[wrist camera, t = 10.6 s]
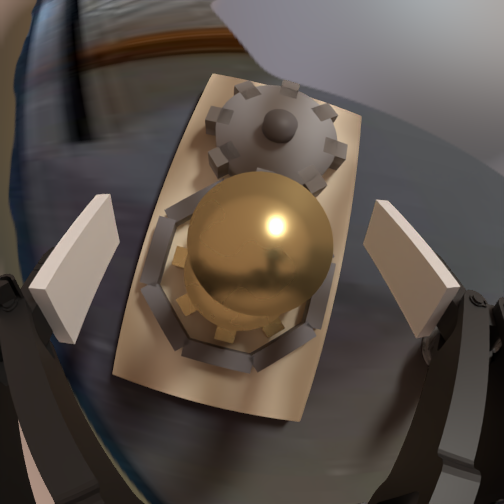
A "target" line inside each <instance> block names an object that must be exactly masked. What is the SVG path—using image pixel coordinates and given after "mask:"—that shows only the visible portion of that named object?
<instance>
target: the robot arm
mask: <svg viewBox="0 0 504 504" xmlns="http://www.w3.org/2000/svg"><path fill="white" fill-rule="evenodd" d="M119 242H120V241H119V237H118V232H117V227H116V223H115V218H114V212H113V207H112V201H111V196H110V194H102V195H96V196H95V197H94V199H93V200H92V201H91V202H90V203H89V204H88V206H87V207H86V208H85V209H84V211H83V212H82V213H81V214H80V215H79V217H78V218H77V219H76V220H75V222H74V223H73V224H72V226H71V227H70V228H69V229H68V231H67V232H66V233H65V235H64V236H63V237H62V239H61V240H60V242H59V243H58V244H57V246H56V247H52V248H51V249H50V250H48V251H47V252H46V253H45V254H44V255H43V256H42V258H41V259H40V260H39V262H38V264H37V265H36V266H35V268H34V271H32V272H31V274H30V275H29V277H28V278H27V280H26V281H25V283H24V285H23V286H22V288H21V289H20V288H19V286H18V284H17V282H16V280H15V278H14V276H13V275H11V274H4V275H1V276H0V504H36V502H35V499H34V496H33V492H32V489H31V485H30V481H29V478H28V473H27V469H26V465H25V460H24V455H23V450H22V444H21V438H20V431H19V424H18V420H19V422H20V426H21V428H22V431H23V434H24V437H25V439H26V442H27V445H28V447H29V449H30V452H31V455H32V457H33V459H34V461H35V464H36V466H37V468H38V470H39V472H40V474H41V477H42V479H43V481H44V483H45V485H46V487H47V488H48V490H49V492H50V494H51V496H52V498H53V500H54V502H55V504H144V503H143V502H142V501H141V500H139V499H138V498H137V497H136V495H135V494H134V493H133V492H132V491H131V489H130V488H129V486H128V485H127V484H126V482H125V481H124V480H123V478H122V477H121V475H120V474H119V473H118V471H117V470H116V468H115V467H114V465H113V464H112V462H111V461H110V459H109V458H108V456H107V455H106V453H105V451H104V450H103V448H102V447H101V445H100V443H99V442H98V440H97V438H96V437H95V435H94V433H93V431H92V430H91V428H90V426H89V424H88V422H87V420H86V419H85V417H84V415H83V413H82V411H81V409H80V407H79V405H78V403H77V401H76V399H75V397H74V395H73V392H72V390H71V388H70V386H69V384H68V381H67V379H66V377H65V374H64V372H63V370H62V367H61V365H60V362H59V360H58V357H57V354H56V352H55V349H54V346H53V344H52V343H51V341H50V337H51V335H52V332H53V333H54V335H55V336H56V338H57V339H58V341H59V342H64V343H70V344H75V342H76V340H77V337H78V334H79V332H80V329H81V326H82V324H83V321H84V319H85V316H86V314H87V311H88V309H89V307H90V304H91V302H92V299H93V297H94V295H95V293H96V290H97V288H98V286H99V284H100V281H101V279H102V277H103V275H104V273H105V271H106V268H107V266H108V264H109V262H110V260H111V258H112V256H113V254H114V252H115V250H116V248H117V246H118V244H119ZM363 245H364V247H365V248H366V250H367V251H368V253H369V255H370V256H371V258H372V260H373V261H374V263H375V265H376V266H377V268H378V270H379V271H380V273H381V275H382V276H383V278H384V280H385V281H386V283H387V285H388V287H389V288H390V290H391V292H392V294H393V296H394V297H395V299H396V301H397V303H398V305H399V306H400V308H401V310H402V312H403V314H404V316H405V318H406V320H407V322H408V323H409V325H410V327H411V329H412V331H413V333H414V335H415V337H416V338H421V337H426V336H430V334H431V333H432V331H433V330H434V328H435V327H436V326H437V328H438V330H439V331H440V332H439V333H438V335H437V336H436V337H435V339H434V340H433V341H432V343H431V344H430V346H429V347H428V349H427V350H430V349H431V348H432V347H433V346H434V348H433V351H432V357H431V361H430V365H429V369H428V373H427V376H426V380H425V383H424V387H423V390H422V393H421V397H420V400H419V403H418V406H417V409H416V412H415V415H414V418H413V420H412V423H411V426H410V429H409V431H408V434H407V436H406V439H405V441H404V444H403V446H402V448H401V451H400V453H399V455H398V458H397V460H396V462H395V464H394V466H393V469H392V471H391V473H390V475H389V476H388V478H387V479H386V480H385V482H384V483H382V484H381V485H380V486H379V487H378V489H377V490H376V491H375V493H374V494H373V496H372V497H371V499H370V501H369V502H368V504H504V298H503V297H502V298H500V299H499V300H498V302H497V303H496V305H495V306H493V305H489V304H488V303H487V301H486V300H485V298H484V297H483V296H482V295H481V294H479V293H478V292H476V291H473V290H467V291H466V289H465V288H464V286H463V285H462V284H461V282H460V281H459V280H458V278H457V277H456V276H455V274H454V273H453V272H452V271H451V269H450V268H449V267H448V265H446V263H445V262H444V260H443V259H442V258H441V257H440V256H439V255H438V254H437V253H435V252H434V251H433V250H432V249H431V248H430V247H429V246H428V244H427V243H426V242H425V241H424V240H423V239H422V237H421V236H420V235H419V234H418V233H417V232H416V231H415V229H414V228H413V227H412V226H411V225H410V224H409V223H408V222H407V220H406V219H405V218H404V217H403V216H402V215H401V214H400V213H399V212H398V211H397V210H396V209H395V208H394V206H393V205H392V204H391V203H390V202H389V201H384V200H376V202H375V205H374V209H373V213H372V216H371V220H370V223H369V226H368V230H367V233H366V236H365V240H364V243H363ZM500 340H501V343H502V346H501V348H500V349H499V350H498V351H497V352H495V346H496V345H497V344H498V343H499V342H500ZM359 504H366V502H363V503H359Z"/></svg>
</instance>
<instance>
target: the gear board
mask: <svg viewBox="0 0 504 504" xmlns="http://www.w3.org/2000/svg"><path fill="white" fill-rule="evenodd" d="M299 86H300V84H297V83H294V82H290V81H287V80H283V83H282V86H276V85H264V84H260V83H256V82H252V81H250V80H249V81H247V80H243V79H238V78H233V77H228V76H223V75H218V74H212V76H211V78H210V80H209V82H208V84H207V86H206V88H205V90H204V92H203V94H202V96H201V98H200V100H199V102H198V104H197V106H196V109H195V111H194V113H193V115H192V117H191V120H190V122H189V124H188V126H187V129H186V131H185V133H184V135H183V138H182V140H181V142H180V145H179V147H178V150H177V152H176V154H175V157H174V159H173V162H172V164H171V167H170V170H169V172H168V175H167V177H166V180H165V183H164V185H163V188H162V191H161V193H160V196H159V199H158V202H157V205H156V207H155V210H154V213H153V216H152V219H151V222H150V225H149V228H148V231H147V235H146V238H145V241H144V244H143V247H142V251H141V254H140V257H139V261H138V264H137V268H136V271H135V275H134V279H133V282H132V286H131V290H130V294H129V298H128V302H127V306H126V310H125V314H124V318H123V323H122V327H121V332H120V337H119V341H118V346H117V351H116V357H115V362H114V368H113V373H112V374H113V375H116V376H118V377H121V378H124V379H126V380H129V381H132V382H134V383H137V384H140V385H143V386H146V387H149V388H152V389H155V390H158V391H161V392H164V393H167V394H170V395H174V396H177V397H180V398H184V399H187V400H191V401H195V402H198V403H202V404H206V405H210V406H214V407H218V408H223V409H227V410H232V411H237V412H242V413H247V414H252V415H257V416H263V417H269V418H276V419H282V420H290V421H298V422H300V419H301V416H302V413H303V410H304V407H305V404H306V401H307V398H308V395H309V392H310V388H311V385H312V382H313V379H314V375H315V372H316V368H317V365H318V361H319V358H320V354H321V350H322V347H323V343H324V339H325V335H326V331H327V328H328V324H329V319H330V315H331V311H332V307H333V303H334V298H335V294H336V289H337V284H338V280H339V275H340V270H341V265H342V260H343V255H344V249H345V244H346V238H347V232H348V226H349V220H350V214H351V207H352V200H353V193H354V186H355V178H356V170H357V161H358V151H359V141H360V129H361V116H360V115H357V114H355V113H352V112H350V111H347V110H344V109H342V108H339V107H336V106H333V105H331V104H329V103H325V102H322V101H319V100H316V99H313V98H310V97H309V96H307V95H305V94H303V93H301V92H299V91H298V90H299ZM258 171H262V172H271V173H276V174H280V175H283V176H285V177H288V178H290V179H292V180H294V181H296V182H298V183H299V184H301V185H302V186H304V187H305V188H306V189H307V190H308V191H310V192H311V193H312V194H313V196H314V197H315V198H316V199H317V200H318V201H319V203H320V204H321V206H322V207H323V209H324V211H325V213H326V215H327V217H328V220H329V222H330V225H331V229H332V234H333V257H332V262H331V266H330V269H329V272H328V274H327V276H326V278H325V280H324V282H323V283H322V285H321V286H320V288H319V289H318V290H317V292H316V293H315V294H314V295H313V296H312V297H311V298H310V299H309V300H307V301H306V302H305V303H303V304H302V305H300V306H299V307H297V308H295V309H293V310H291V311H288V312H285V313H282V314H281V315H280V316H279V319H280V320H281V322H282V324H283V325H284V327H285V329H283V330H282V331H280V332H278V333H277V334H275V335H273V336H272V337H270V338H268V337H266V336H265V335H264V333H263V331H262V330H261V328H257V329H253V330H247V331H236V335H235V339H234V343H233V344H232V343H228V342H224V341H220V340H217V339H214V337H215V333H216V329H217V325H215V324H213V323H212V322H210V321H209V320H207V319H206V318H205V317H203V316H202V315H201V314H200V313H199V312H198V310H197V311H195V312H194V313H192V314H190V315H188V316H186V317H185V315H184V313H183V312H182V310H181V308H180V306H179V305H178V303H177V301H176V299H177V298H179V297H181V296H183V295H184V294H186V293H187V290H186V287H185V281H184V269H180V268H177V267H175V266H174V265H172V261H173V257H174V254H175V251H176V247H177V246H180V247H184V248H187V234H188V228H189V223H190V220H191V217H192V215H193V212H194V210H195V209H196V207H197V205H198V203H199V202H200V201H201V199H202V198H203V197H204V195H205V194H206V193H207V192H208V191H209V190H210V189H212V188H213V187H214V186H216V185H217V184H218V183H220V182H222V181H223V180H225V179H227V178H229V177H232V176H234V175H238V174H241V173H246V172H258Z"/></svg>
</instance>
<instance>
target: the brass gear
mask: <svg viewBox="0 0 504 504" xmlns="http://www.w3.org/2000/svg"><path fill="white" fill-rule="evenodd" d="M332 257H333V234H332V229H331V225H330V222H329V220H328V217H327V215H326V213H325V211H324V209H323V207H322V206H321V204H320V203H319V201H318V200H317V199H316V198H315V197H314V196H313V194H312V193H311V192H310V191H308V190H307V189H306V188H305V187H304V186H302V185H301V184H299V183H298V182H296V181H294V180H292V179H290V178H288V177H285V176H283V175H280V174H276V173H271V172H262V171H258V172H246V173H241V174H238V175H234V176H232V177H229V178H227V179H225V180H223V181H222V182H220V183H218V184H217V185H216V186H214V187H213V188H212V189H210V190H209V191H208V192H207V193H206V194H205V195H204V197H203V198H202V199H201V201H200V202H199V203H198V205H197V207H196V209H195V210H194V212H193V215H192V217H191V220H190V223H189V228H188V234H187V248H184V247H180V246H177V247H176V251H175V254H174V257H173V261H172V265H174V266H175V267H177V268H180V269H184V281H185V287H186V290H187V293H186V294H184V295H183V296H181V297H179V298H177V299H176V301H177V303H178V305H179V306H180V308H181V310H182V312H183V313H184V315H185V317H186V316H188V315H190V314H192V313H194V312H195V311H197V310H198V312H199V313H200V314H201V315H202V316H203V317H205V318H206V319H207V320H209V321H210V322H212V323H213V324H215V325H217V329H216V333H215V337H214V339H217V340H220V341H224V342H228V343H232V344H233V343H234V339H235V335H236V331H247V330H253V329H257V328H261V330H262V331H263V333H264V335H265V336H266V337H268V338H270V337H272V336H273V335H275V334H277V333H278V332H280V331H282V330H283V329H285V327H284V325H283V324H282V322H281V320H280V319H279V316H280V315H281V314H282V313H285V312H288V311H291V310H293V309H295V308H297V307H299V306H300V305H302V304H303V303H305V302H306V301H307V300H309V299H310V298H311V297H312V296H313V295H314V294H315V293H316V292H317V290H318V289H319V288H320V286H321V285H322V283H323V282H324V280H325V278H326V276H327V274H328V272H329V269H330V266H331V262H332Z"/></svg>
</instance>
